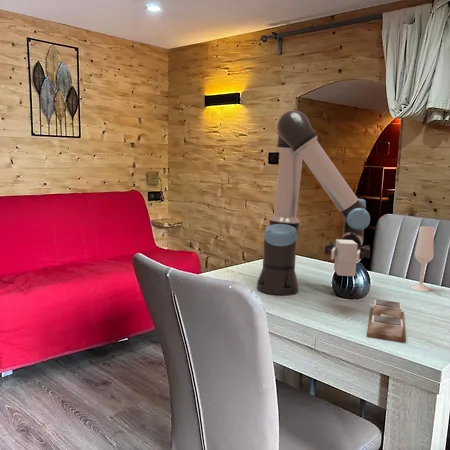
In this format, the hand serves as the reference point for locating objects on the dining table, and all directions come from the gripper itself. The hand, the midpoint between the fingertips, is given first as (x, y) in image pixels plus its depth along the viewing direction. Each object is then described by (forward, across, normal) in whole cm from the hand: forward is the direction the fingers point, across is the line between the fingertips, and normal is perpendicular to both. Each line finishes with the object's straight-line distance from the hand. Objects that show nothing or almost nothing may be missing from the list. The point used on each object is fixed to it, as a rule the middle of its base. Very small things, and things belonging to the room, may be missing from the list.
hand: (344, 256), depth 141 cm
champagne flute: (-42, -26, -18) cm, 53 cm away
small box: (-5, 0, -7) cm, 8 cm away
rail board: (+6, -14, -18) cm, 23 cm away
